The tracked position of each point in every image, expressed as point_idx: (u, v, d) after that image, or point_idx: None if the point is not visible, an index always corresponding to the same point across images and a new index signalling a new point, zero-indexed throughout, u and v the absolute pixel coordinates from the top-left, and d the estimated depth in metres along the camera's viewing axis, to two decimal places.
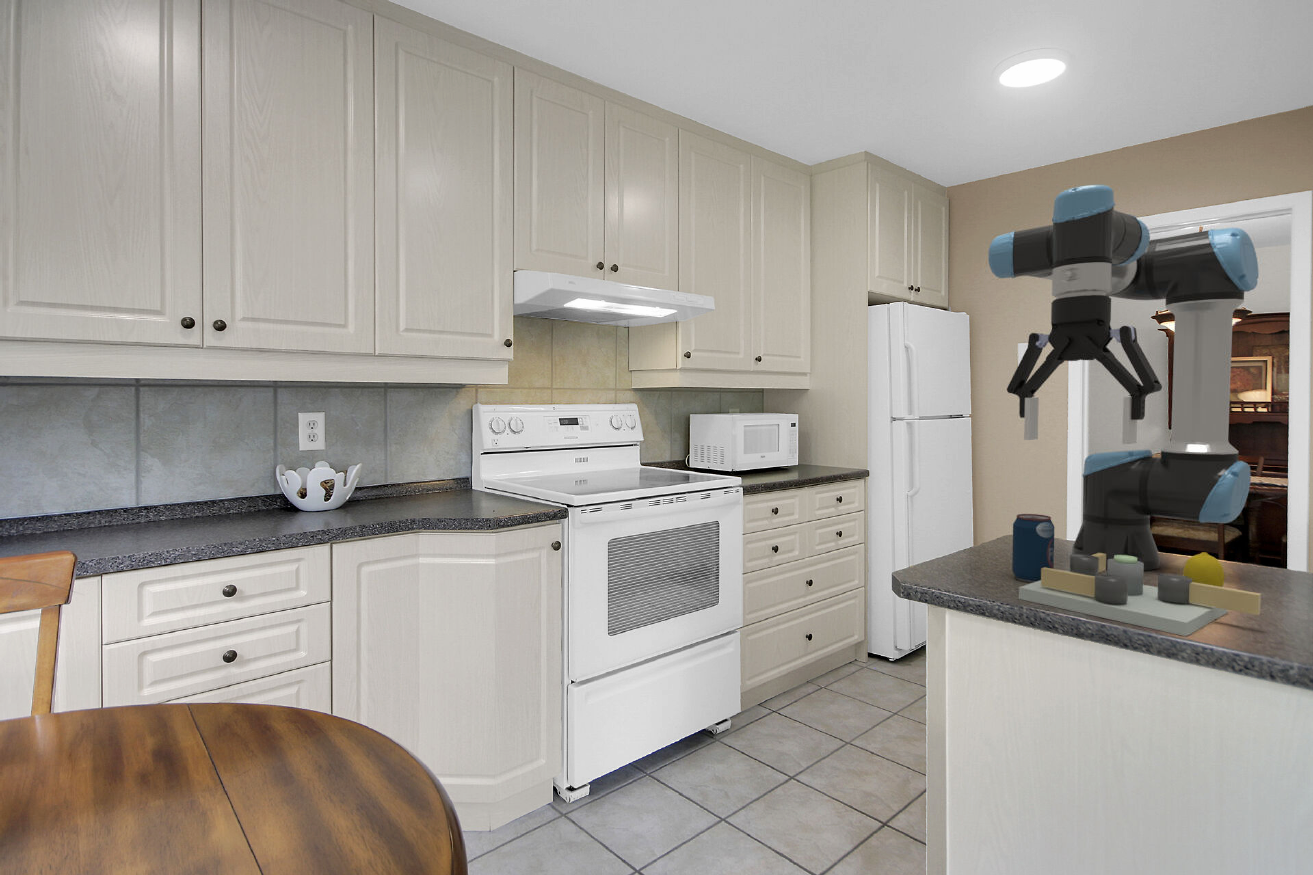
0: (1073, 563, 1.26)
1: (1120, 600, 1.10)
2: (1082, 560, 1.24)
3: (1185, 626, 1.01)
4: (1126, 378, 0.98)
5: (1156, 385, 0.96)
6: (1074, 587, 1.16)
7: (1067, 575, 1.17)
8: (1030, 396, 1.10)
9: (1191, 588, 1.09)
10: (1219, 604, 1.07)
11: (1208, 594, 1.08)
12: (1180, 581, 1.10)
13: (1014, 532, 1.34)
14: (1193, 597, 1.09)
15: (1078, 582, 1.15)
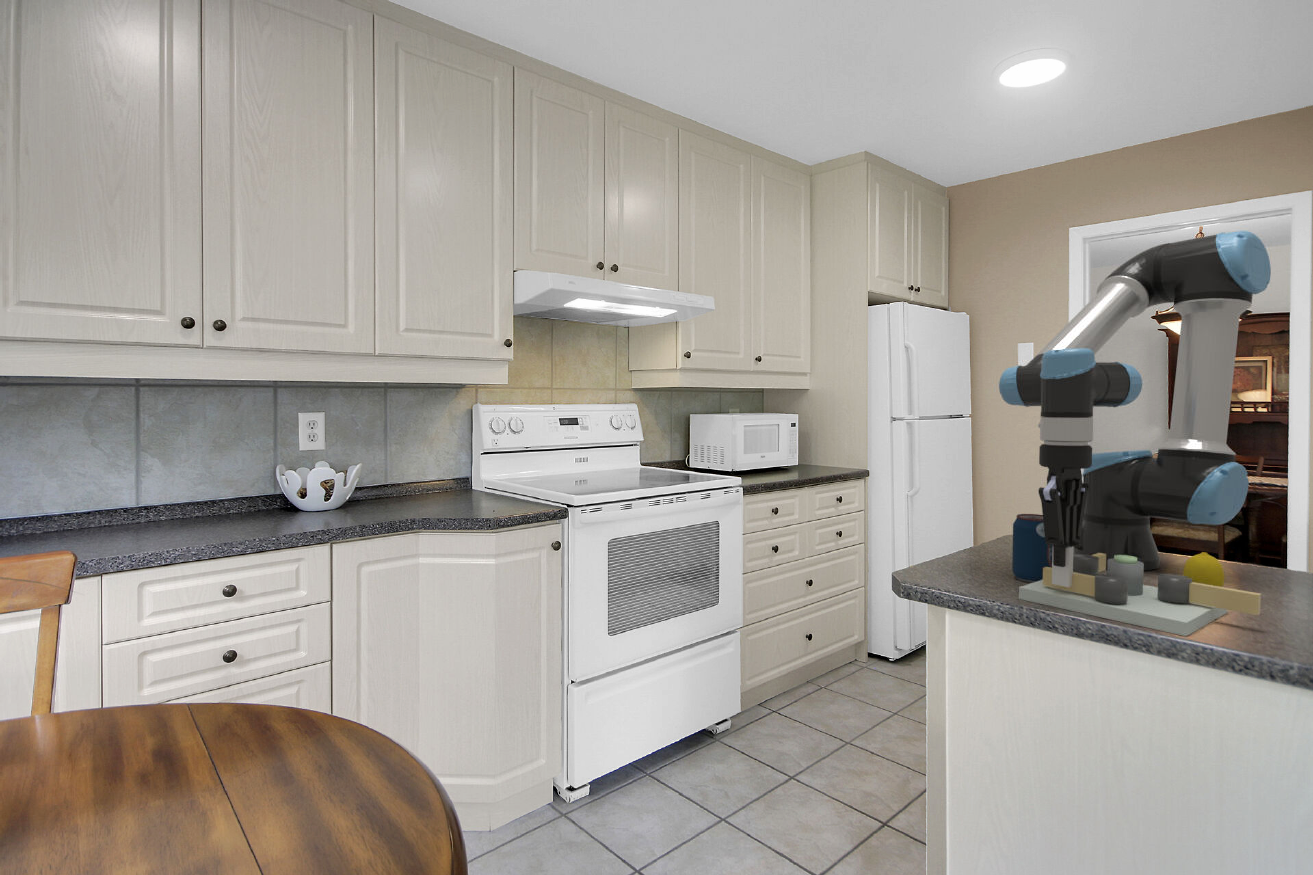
0: (1073, 563, 1.26)
1: (1119, 600, 1.10)
2: (1082, 560, 1.24)
3: (1185, 626, 1.01)
4: None
5: (1050, 538, 1.15)
6: (1075, 587, 1.16)
7: None
8: None
9: (1191, 588, 1.09)
10: (1219, 604, 1.07)
11: (1208, 594, 1.08)
12: (1180, 581, 1.10)
13: (1014, 532, 1.34)
14: (1193, 597, 1.09)
15: (1079, 582, 1.15)
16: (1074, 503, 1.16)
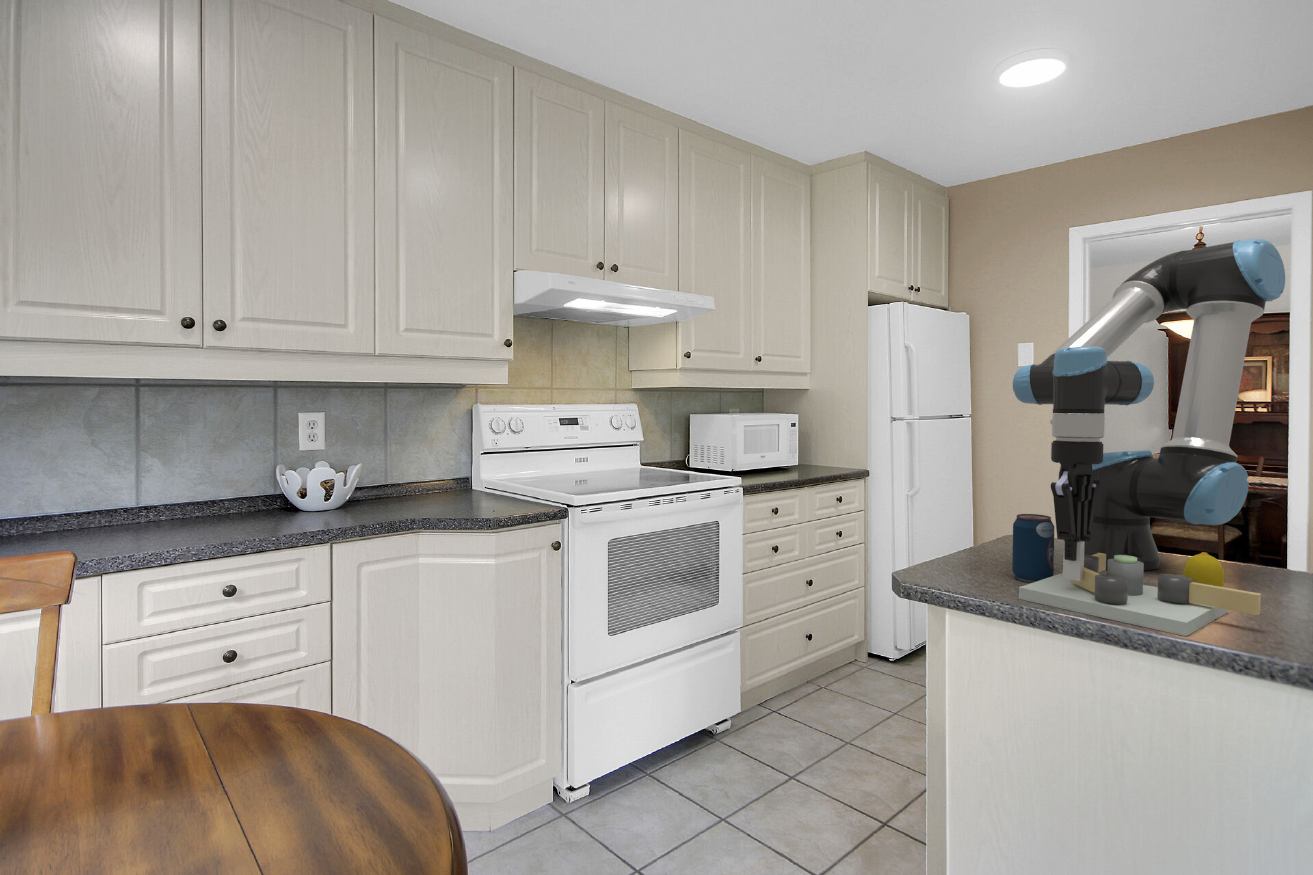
0: None
1: (1110, 599, 1.10)
2: None
3: (1185, 626, 1.01)
4: None
5: (1061, 532, 1.17)
6: (1088, 585, 1.17)
7: (1084, 572, 1.18)
8: None
9: (1191, 588, 1.09)
10: (1219, 604, 1.07)
11: (1208, 594, 1.08)
12: (1180, 581, 1.10)
13: (1014, 532, 1.34)
14: (1193, 597, 1.09)
15: (1090, 580, 1.16)
16: (1085, 498, 1.18)
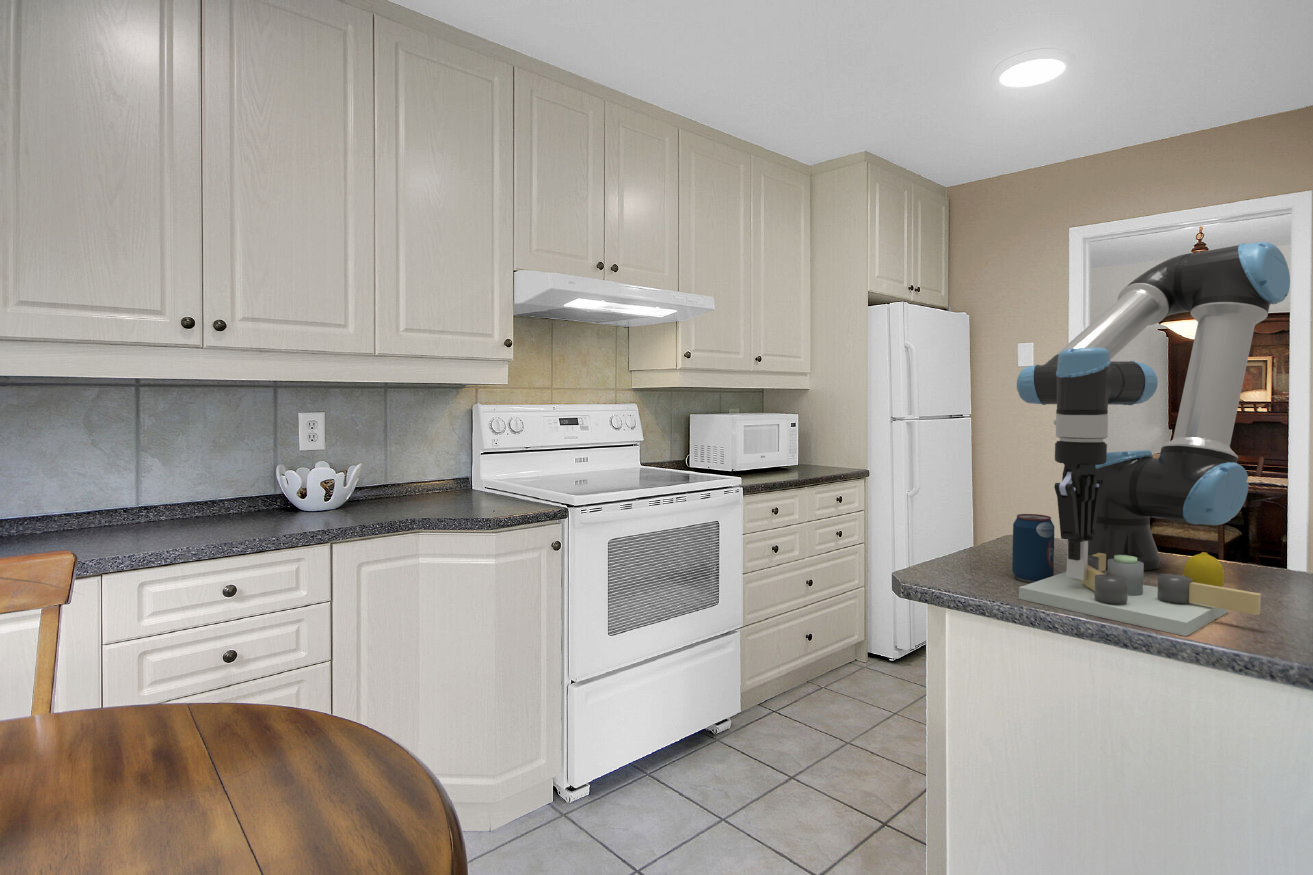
0: None
1: (1107, 599, 1.10)
2: None
3: (1185, 626, 1.01)
4: None
5: (1065, 532, 1.18)
6: (1093, 585, 1.17)
7: (1090, 572, 1.18)
8: None
9: (1191, 588, 1.09)
10: (1219, 604, 1.07)
11: (1208, 594, 1.08)
12: (1180, 581, 1.10)
13: (1014, 532, 1.34)
14: (1193, 597, 1.09)
15: (1094, 580, 1.16)
16: (1089, 498, 1.19)
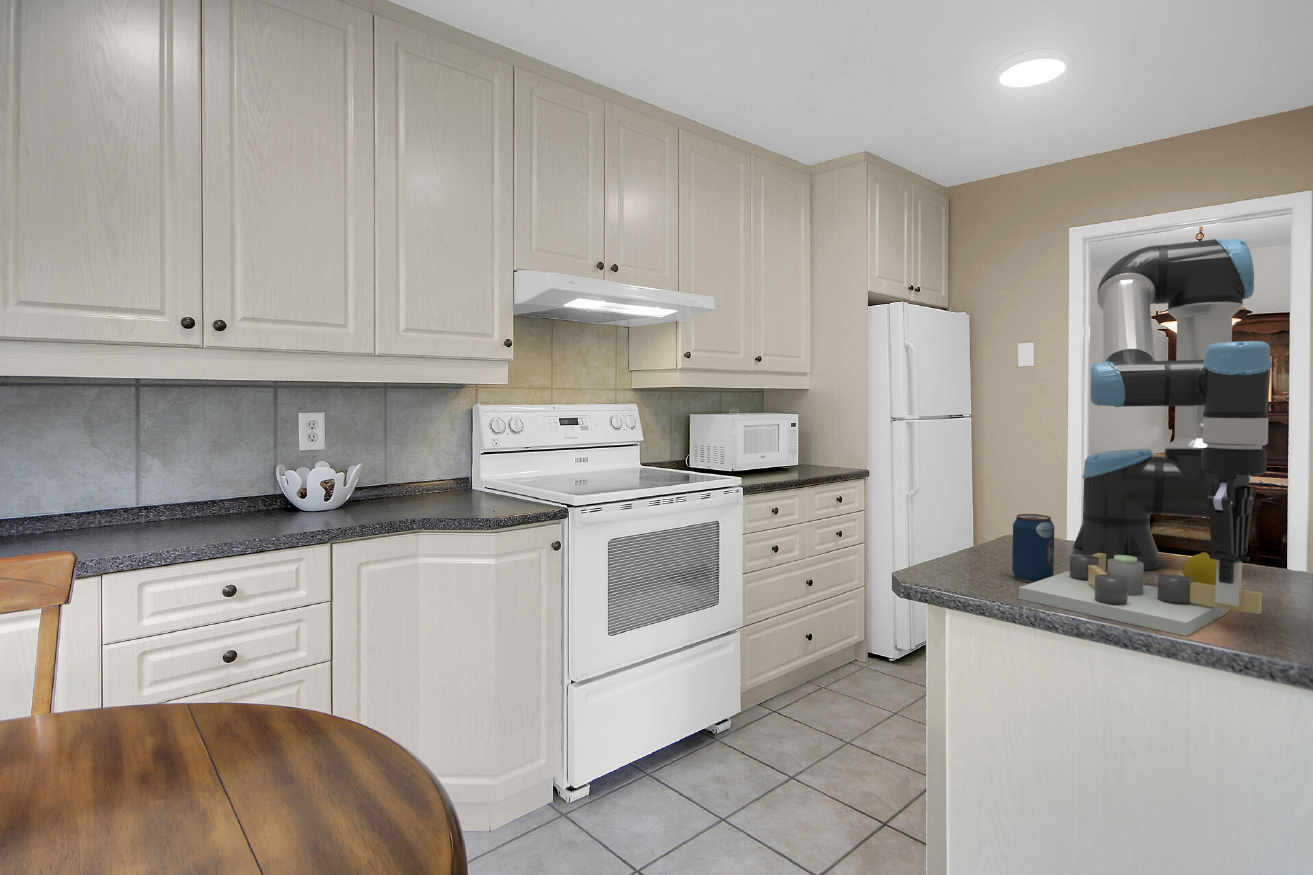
0: (1073, 563, 1.26)
1: (1105, 599, 1.11)
2: (1082, 560, 1.24)
3: (1185, 626, 1.01)
4: None
5: (1217, 552, 1.04)
6: None
7: (1095, 572, 1.18)
8: None
9: (1192, 588, 1.09)
10: (1220, 603, 1.07)
11: (1209, 594, 1.08)
12: (1181, 581, 1.10)
13: (1014, 532, 1.34)
14: (1194, 597, 1.09)
15: None
16: (1243, 513, 1.04)
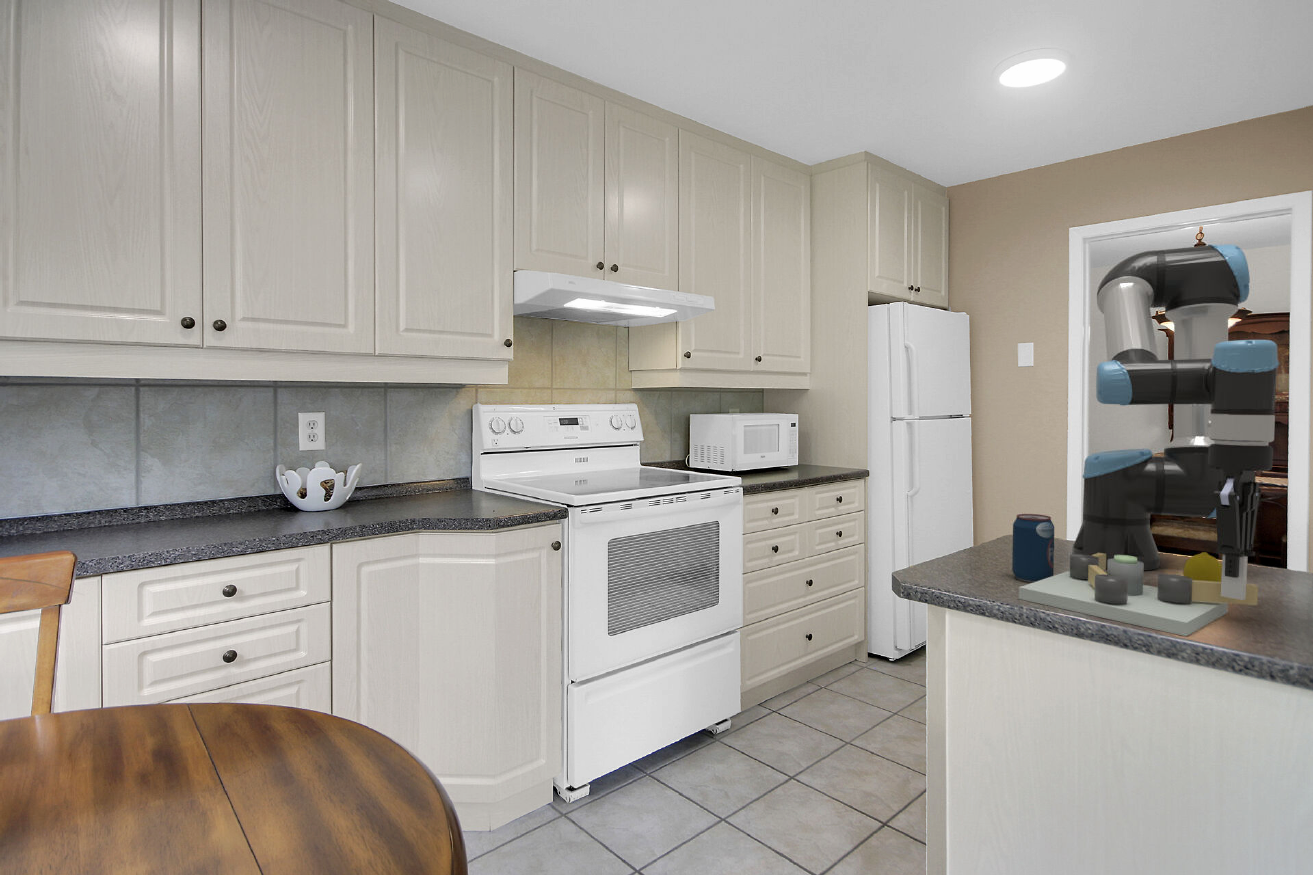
0: (1073, 563, 1.26)
1: (1105, 599, 1.11)
2: (1082, 560, 1.24)
3: (1185, 626, 1.01)
4: None
5: (1224, 546, 1.06)
6: None
7: (1095, 572, 1.18)
8: None
9: (1194, 586, 1.10)
10: (1221, 599, 1.09)
11: (1210, 590, 1.10)
12: (1188, 581, 1.10)
13: (1013, 532, 1.34)
14: (1196, 595, 1.10)
15: None
16: (1249, 508, 1.06)
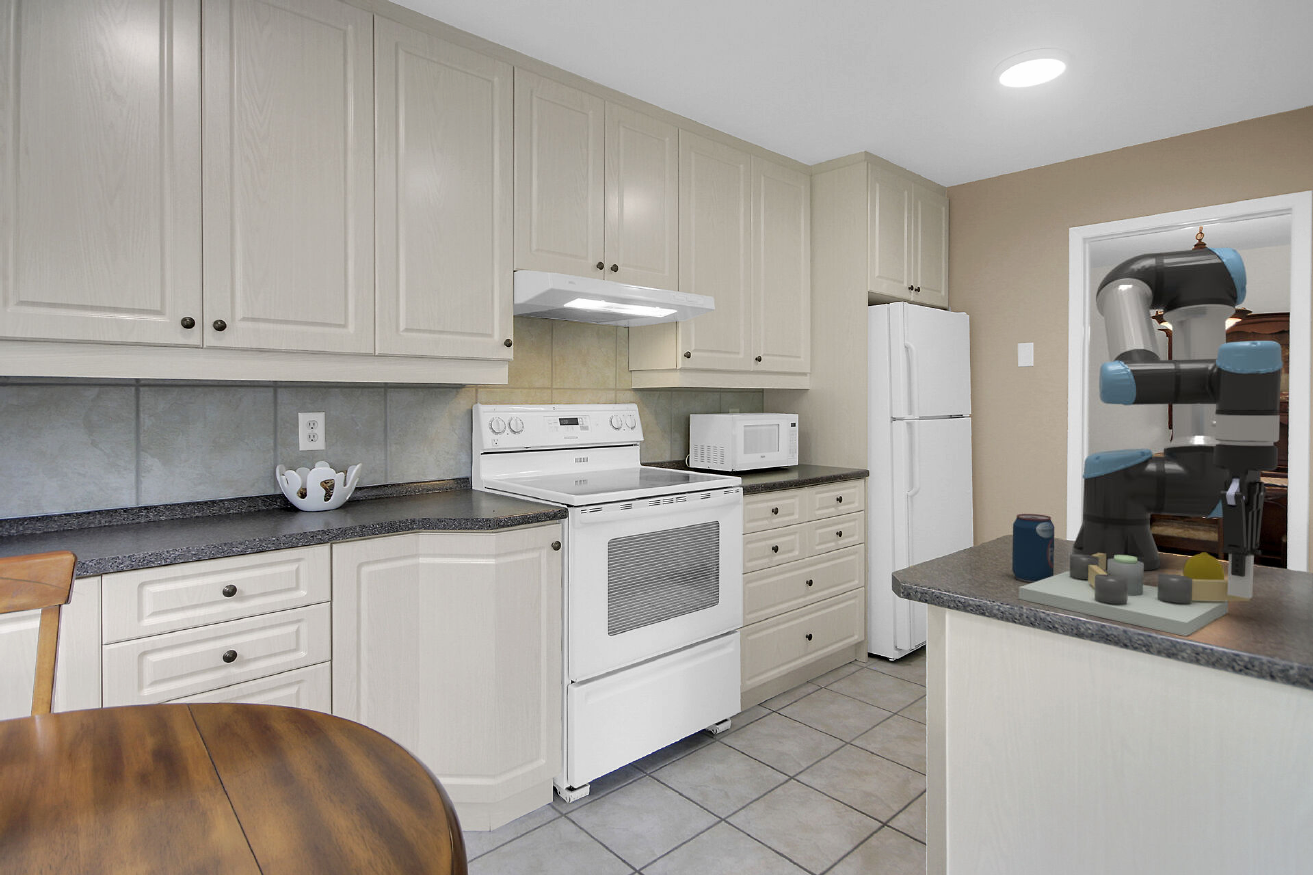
0: (1073, 563, 1.26)
1: (1105, 599, 1.11)
2: (1082, 560, 1.24)
3: (1185, 626, 1.01)
4: None
5: (1230, 546, 1.07)
6: None
7: (1095, 572, 1.18)
8: None
9: (1193, 586, 1.11)
10: (1218, 597, 1.10)
11: (1208, 589, 1.11)
12: (1190, 581, 1.10)
13: (1014, 532, 1.34)
14: (1195, 594, 1.11)
15: None
16: None
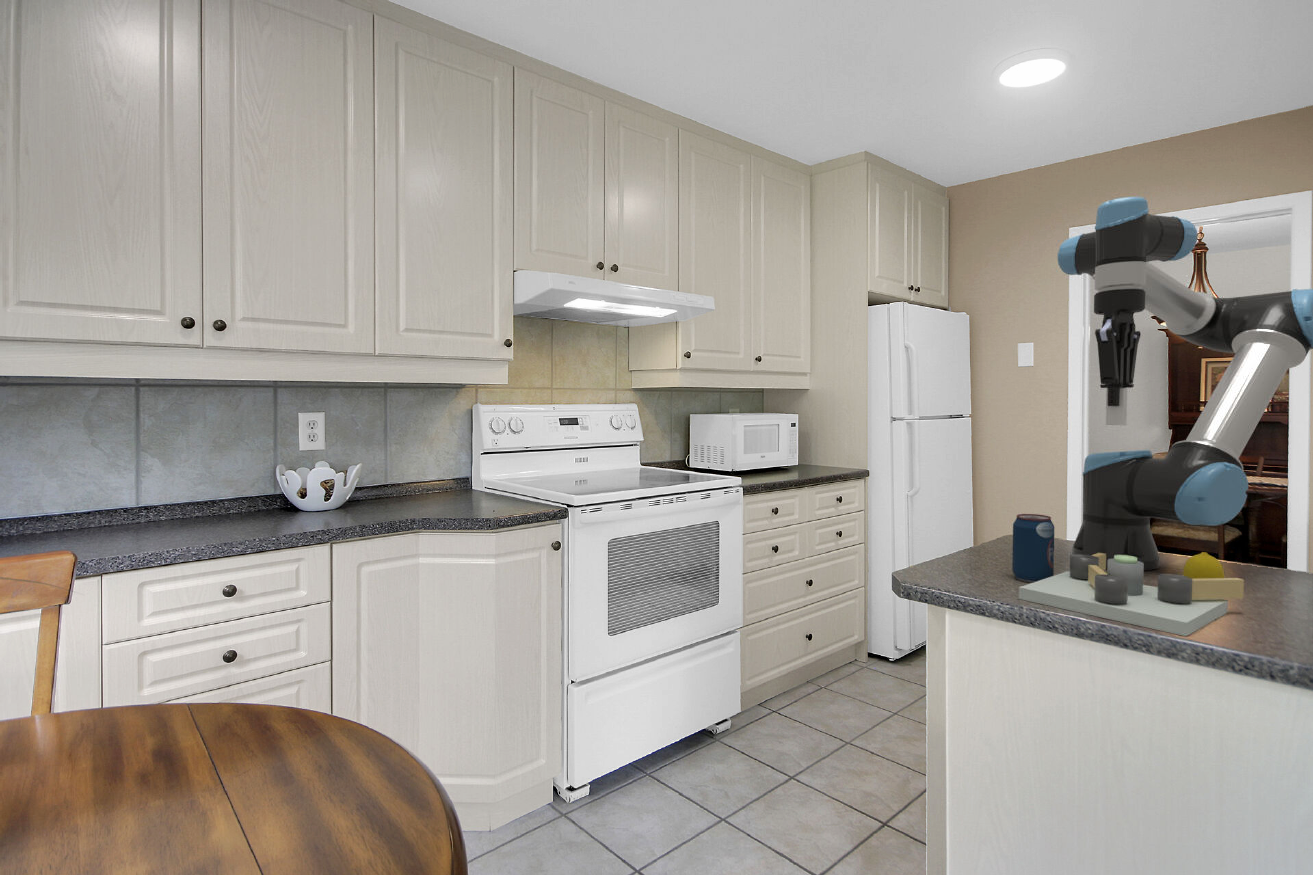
0: (1073, 563, 1.26)
1: (1105, 599, 1.11)
2: (1082, 560, 1.24)
3: (1185, 626, 1.01)
4: None
5: (1105, 379, 1.22)
6: None
7: (1095, 572, 1.18)
8: None
9: (1192, 585, 1.11)
10: (1215, 595, 1.11)
11: (1206, 588, 1.11)
12: None
13: (1014, 532, 1.34)
14: (1194, 593, 1.11)
15: None
16: (1128, 346, 1.23)
